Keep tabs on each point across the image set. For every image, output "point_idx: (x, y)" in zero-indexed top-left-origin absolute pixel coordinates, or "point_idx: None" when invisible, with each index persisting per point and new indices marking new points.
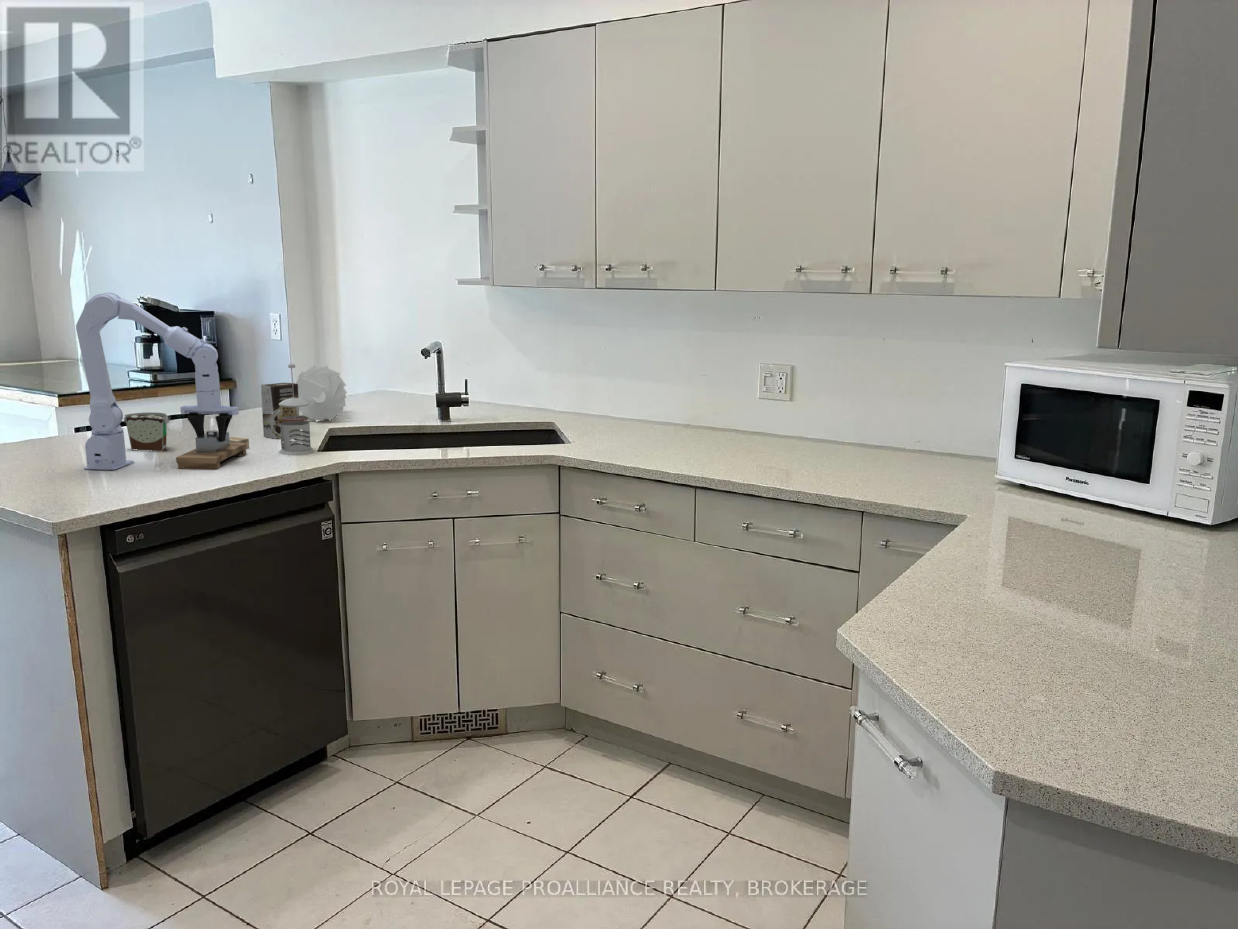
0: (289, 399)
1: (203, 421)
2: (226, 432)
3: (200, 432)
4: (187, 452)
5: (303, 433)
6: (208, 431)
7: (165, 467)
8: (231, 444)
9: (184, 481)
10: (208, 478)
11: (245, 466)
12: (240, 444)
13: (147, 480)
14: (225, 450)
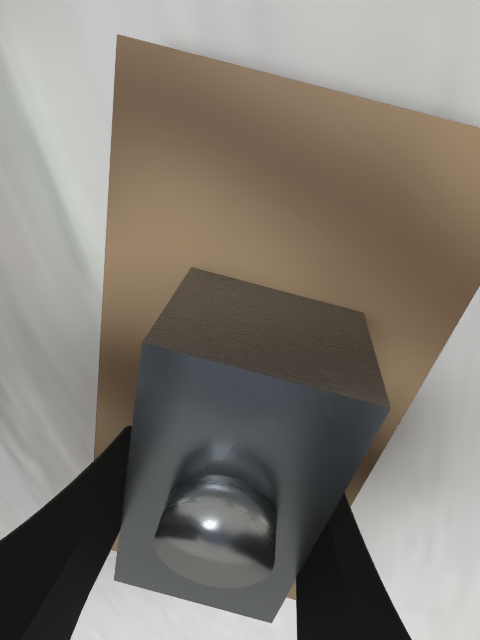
0: None
1: (42, 612)
2: (359, 428)
3: (106, 545)
4: (96, 456)
5: None
6: (178, 554)
7: (50, 454)
8: (376, 215)
9: (215, 636)
10: (289, 629)
11: (441, 516)
12: (475, 228)
13: (89, 601)
14: None
